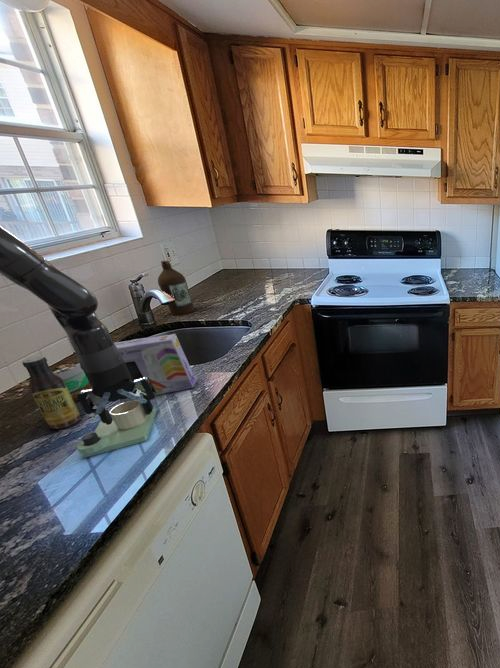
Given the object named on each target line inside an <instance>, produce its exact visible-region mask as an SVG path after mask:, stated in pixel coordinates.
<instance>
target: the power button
mask: <svg viewBox="0 0 500 668" xmlns="http://www.w3.org/2000/svg"><path fill="white" fill-rule="evenodd" d="M94 432H95V431H93V432H89V433H87V434H85V435H83V436H82V437H81V441H83V442H84V443H85V445H86V446H90V445H93V444H95V443H97V442H98V441H100V439H99V437H98V436H97V434H96V433H94Z"/></svg>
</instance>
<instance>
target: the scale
mask: <svg viewBox="0 0 500 668" xmlns="http://www.w3.org/2000/svg"><path fill="white" fill-rule="evenodd" d="M156 414H157V409H156V407H153V410H152V412H151V414H149V415H147V419H146V420H145V421H144V422H143V423H142V424H140V425H139V426H136V427H134V428H131V429H119V428H117V426H116V425H115V423H114V421H112V423H111V424H109V425H107V424H106V423H103V422H102V421H101V420H100V421H99V423H98V425H97V426H96V428H95V430H94V431H93V432H94V433H96V434H97V436H98V437H99V439H100V441H98V442H97V443H95V444H93V445H90V446H86V445H85V443H84V442H83V440H81V441H80V442H79V443H77V446H76V449H77V451H78V453H80V455H83V457H84V458H88V457H93V456H96V455H99V454H103V453H107V452H110V451H114V450H118V449H122V448H125V447H128V446H132V445H136V444H140V443H143V442H146V441H147V440H148V437H149V435H150V431H151V428H152V425H153V423H154V421H155V420H154V419H155V417H156Z"/></svg>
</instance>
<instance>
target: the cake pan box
mask: <svg viewBox="0 0 500 668" xmlns="http://www.w3.org/2000/svg"><path fill="white" fill-rule="evenodd" d="M114 344H115V345H116V347H117V348H118V350H119V351H120V353H121V356H122V358H123V360H124V362H125V364H126V366H127V369H128V371H129V373H130V375H131V377H132V378H133V379H134V380H137V379H141V378H143V376H148V377H149V379H150V381H151V383H152V385H153V387H154V389H155V391H156V395H155V396H157V395H163V394H168V393H173V392H179V391H184V390H188V389H193V388H194V386H195V385H196V383H197V379H196V376H195V374H194V372H193V370H192V367H191V366H190V363H189V361H188V358H187V356H186V354H185V352H184V350H183V347H182V345H181V343H180V341H179V339H178V336H177V334H176V333H172V334H166V335H159V336H158V335H157V336H151V337H141V338H134V339H131V340H124V341H117V342H114ZM135 388H137V389H139V390H141V392H143V393H145V394H147V393H146V391H145V390H144V388H143V387H141V386H139V385H138V384H136V385H135ZM132 393H133V392H132ZM133 394H134V393H133ZM123 400H124V402H127V401H131V400H133V399H131V398H129V397H128V398H127V399H123Z"/></svg>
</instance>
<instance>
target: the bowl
mask: <svg viewBox="0 0 500 668" xmlns="http://www.w3.org/2000/svg"><path fill="white" fill-rule="evenodd" d="M109 413H110V415H111V417H112V419H113V421H114V423H115V425H116V426H117V428H119V429H131V428H134V427H136V426H139V425H140V424H142V423H143V422H144V421H145V420H146V419H147V414H146V412H145V410H144V408H143V406H142V402H140V401H137V400H127V401H124V402H121V403H119V404H117V405H115V406H113V407H112V408H111V409H110V410H109Z"/></svg>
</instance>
